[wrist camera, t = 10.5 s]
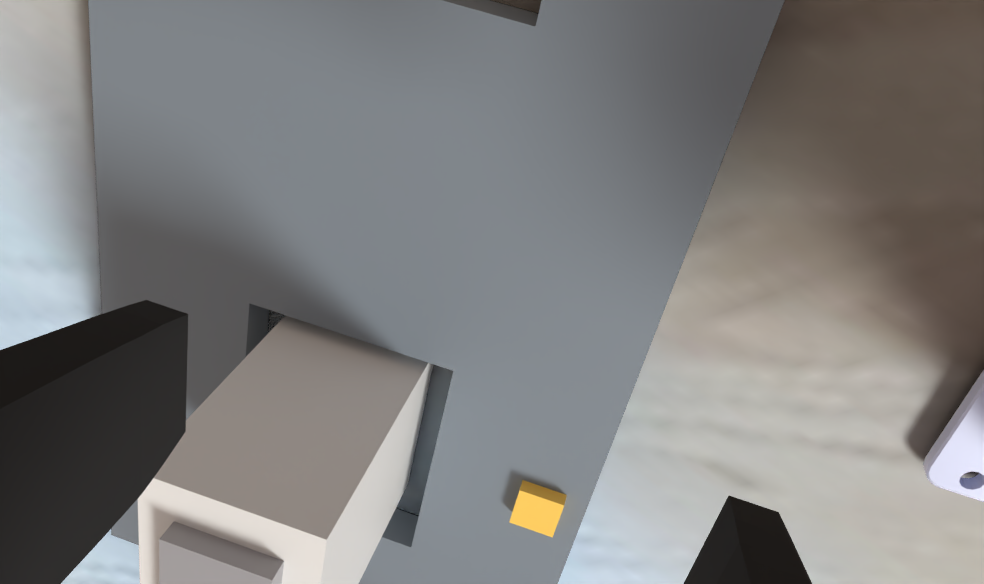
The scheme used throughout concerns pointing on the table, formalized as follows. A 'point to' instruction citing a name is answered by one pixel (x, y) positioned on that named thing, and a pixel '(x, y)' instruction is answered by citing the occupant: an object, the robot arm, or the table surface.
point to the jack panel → (426, 217)
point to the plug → (287, 465)
